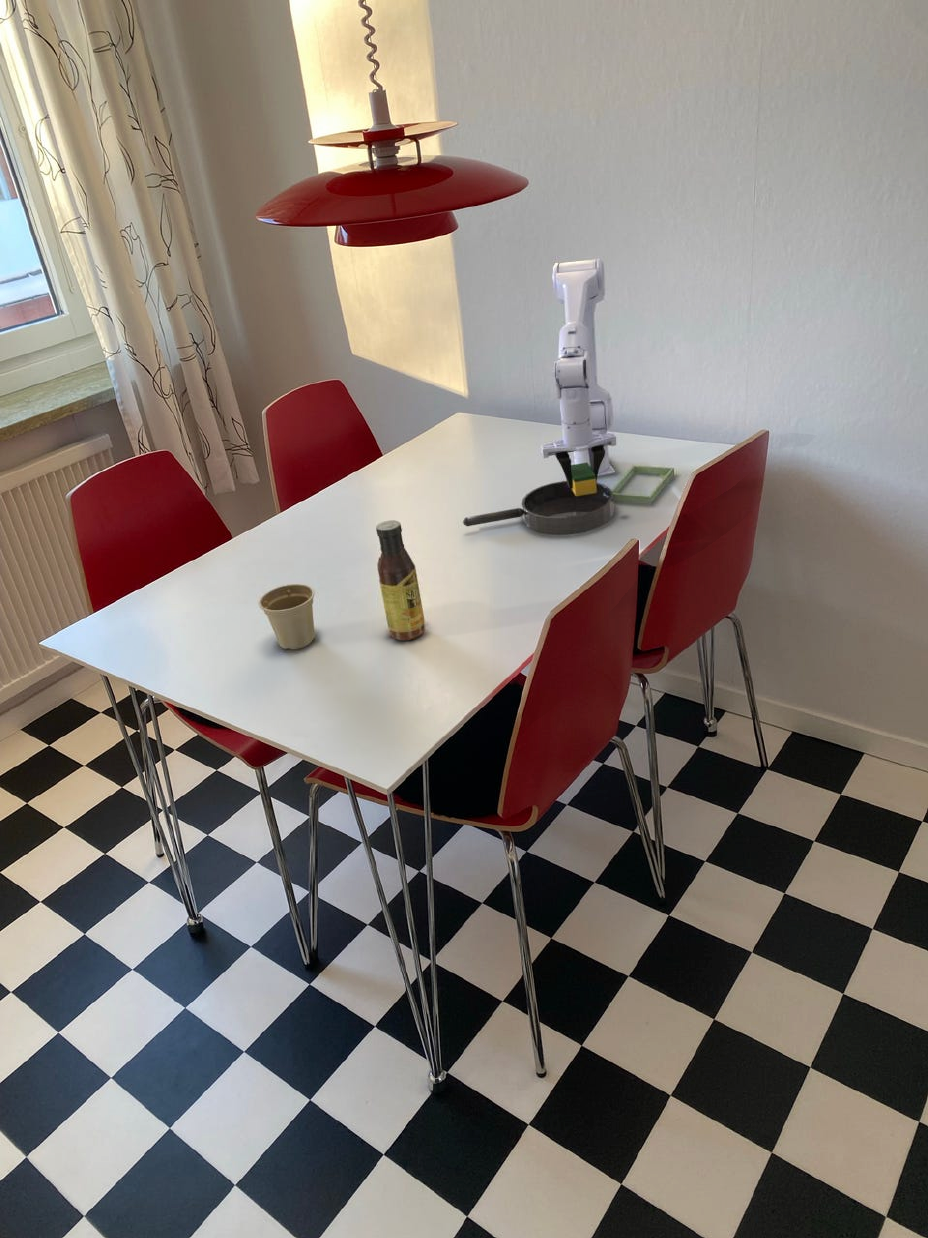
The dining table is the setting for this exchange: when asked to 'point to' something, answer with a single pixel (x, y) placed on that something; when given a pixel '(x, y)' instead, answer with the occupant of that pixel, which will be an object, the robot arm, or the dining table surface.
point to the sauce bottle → (399, 584)
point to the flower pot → (290, 614)
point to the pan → (566, 509)
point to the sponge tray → (662, 471)
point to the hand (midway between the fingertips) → (581, 484)
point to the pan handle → (493, 517)
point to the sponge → (583, 479)
